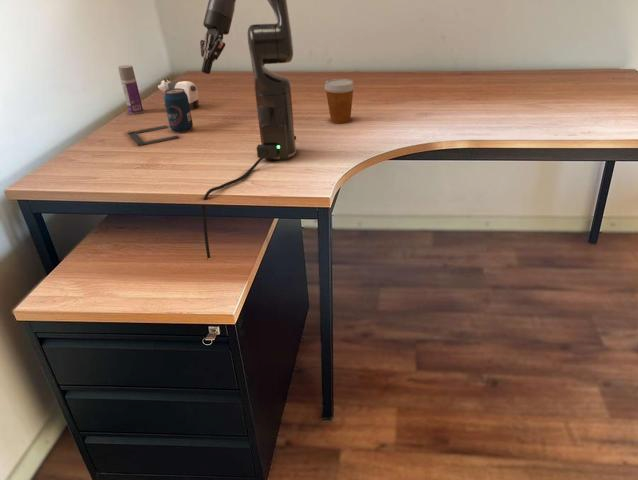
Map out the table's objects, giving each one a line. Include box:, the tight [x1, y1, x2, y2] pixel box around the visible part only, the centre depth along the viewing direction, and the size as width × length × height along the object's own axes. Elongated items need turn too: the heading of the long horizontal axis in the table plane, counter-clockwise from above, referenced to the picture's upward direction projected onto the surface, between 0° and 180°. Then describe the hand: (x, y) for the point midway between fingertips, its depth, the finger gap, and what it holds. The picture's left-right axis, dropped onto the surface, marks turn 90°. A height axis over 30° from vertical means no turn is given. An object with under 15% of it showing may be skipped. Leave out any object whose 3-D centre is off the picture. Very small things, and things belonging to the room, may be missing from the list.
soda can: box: [163, 88, 194, 134], centre depth 167 cm, size 7×7×12 cm
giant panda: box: [157, 77, 200, 111], centre depth 189 cm, size 15×6×10 cm, turn 72°
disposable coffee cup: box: [323, 78, 355, 124], centre depth 173 cm, size 10×10×12 cm
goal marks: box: [127, 125, 180, 147], centre depth 166 cm, size 12×14×1 cm
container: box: [117, 64, 144, 115], centre depth 183 cm, size 5×5×15 cm
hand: (205, 72), depth 163 cm, fingers closed
